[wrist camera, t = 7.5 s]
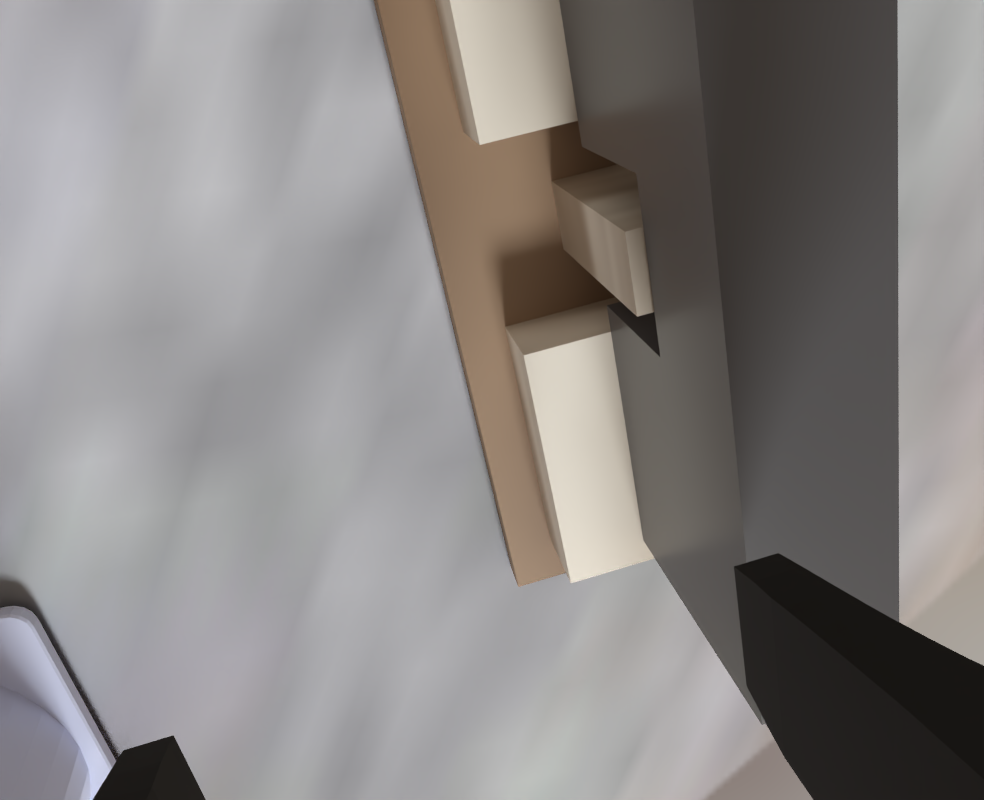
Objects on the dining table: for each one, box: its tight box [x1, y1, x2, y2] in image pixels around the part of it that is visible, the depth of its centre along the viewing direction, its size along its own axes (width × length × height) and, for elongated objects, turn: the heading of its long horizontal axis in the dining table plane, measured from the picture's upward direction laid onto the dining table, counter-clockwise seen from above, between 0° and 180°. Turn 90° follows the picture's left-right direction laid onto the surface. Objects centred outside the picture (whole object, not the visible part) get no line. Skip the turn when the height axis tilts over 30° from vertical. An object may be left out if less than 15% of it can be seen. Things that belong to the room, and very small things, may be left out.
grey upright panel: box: [559, 0, 899, 725], centre depth 14 cm, size 14×3×6 cm, turn 12°
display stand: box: [374, 0, 654, 587], centre depth 16 cm, size 8×17×5 cm, turn 12°
